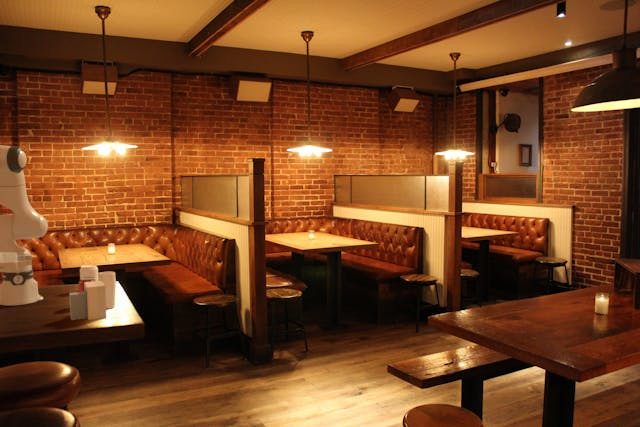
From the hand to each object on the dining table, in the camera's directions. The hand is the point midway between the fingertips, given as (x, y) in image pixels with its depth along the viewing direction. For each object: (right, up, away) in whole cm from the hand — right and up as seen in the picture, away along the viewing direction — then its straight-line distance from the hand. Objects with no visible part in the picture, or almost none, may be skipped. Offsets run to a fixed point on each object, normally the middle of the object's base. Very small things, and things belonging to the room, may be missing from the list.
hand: (31, 260), depth 213 cm
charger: (+17, -23, +6) cm, 30 cm away
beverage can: (0, -20, +54) cm, 57 cm away
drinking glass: (+22, -22, +21) cm, 38 cm away
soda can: (+12, -22, +25) cm, 35 cm away
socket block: (+22, -23, +9) cm, 33 cm away
